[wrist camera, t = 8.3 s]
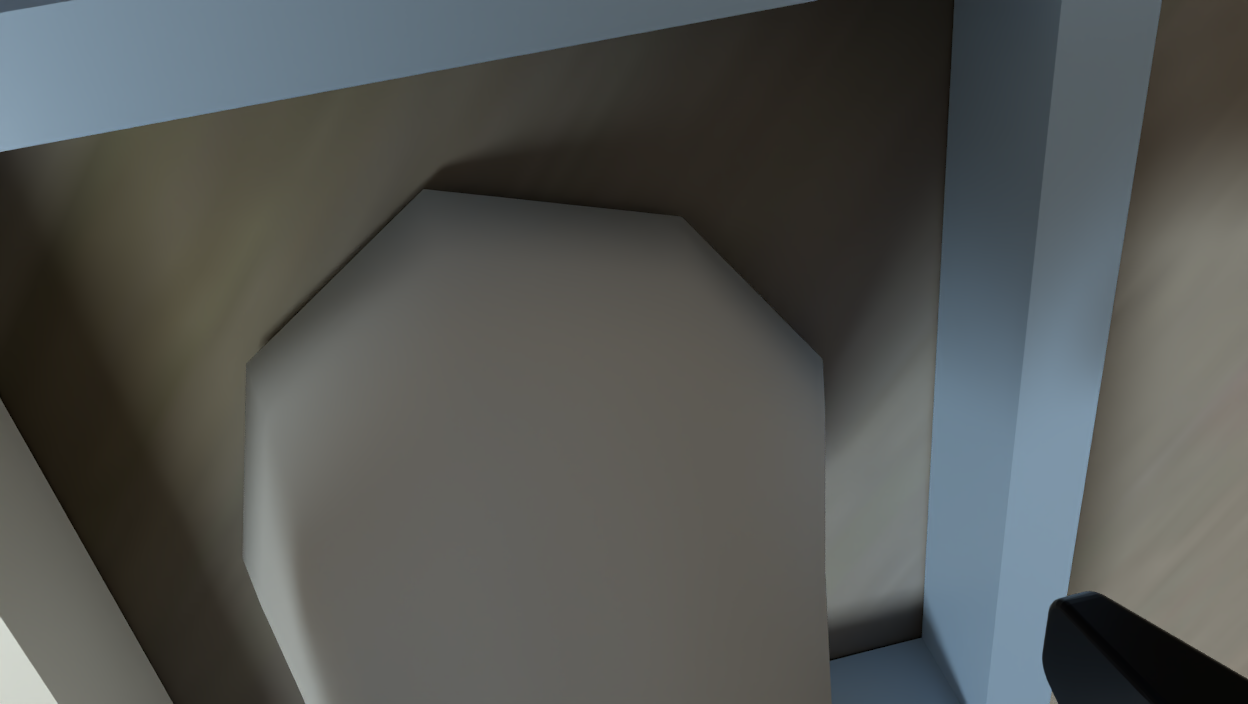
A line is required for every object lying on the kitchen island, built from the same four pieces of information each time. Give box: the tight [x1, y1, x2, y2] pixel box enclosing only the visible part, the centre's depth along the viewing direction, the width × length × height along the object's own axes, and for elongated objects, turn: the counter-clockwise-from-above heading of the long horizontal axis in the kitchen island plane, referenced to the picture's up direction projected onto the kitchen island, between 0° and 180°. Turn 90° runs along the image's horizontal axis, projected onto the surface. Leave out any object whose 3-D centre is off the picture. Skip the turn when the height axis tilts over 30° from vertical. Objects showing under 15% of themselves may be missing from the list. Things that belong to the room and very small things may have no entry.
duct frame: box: [0, 0, 1162, 704], centre depth 12 cm, size 25×13×2 cm, turn 98°
